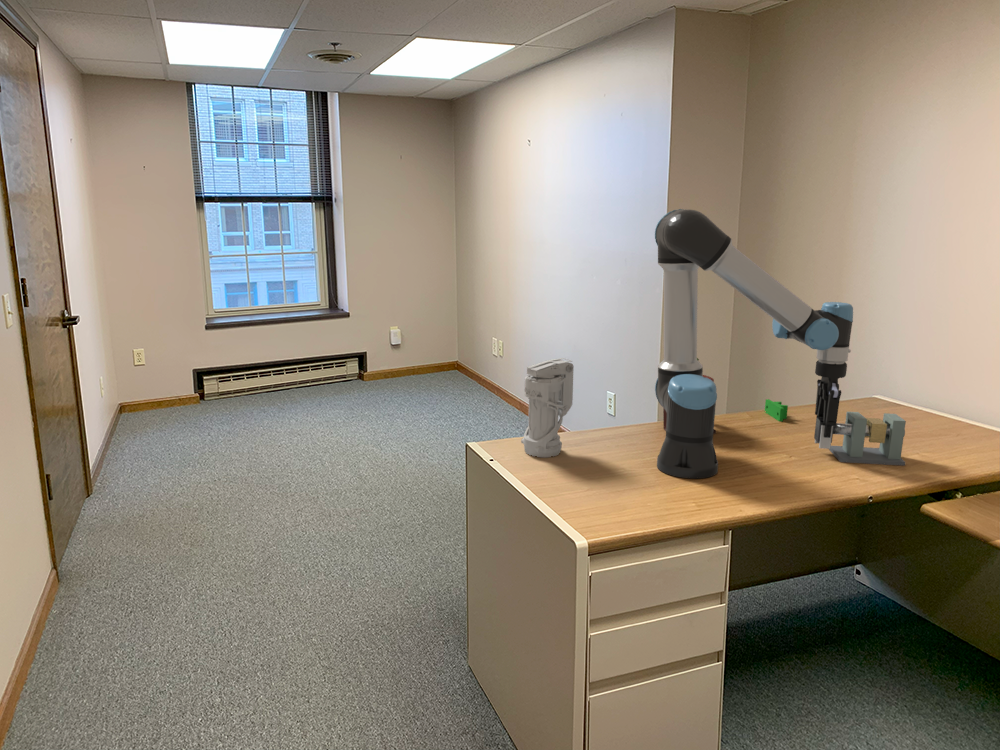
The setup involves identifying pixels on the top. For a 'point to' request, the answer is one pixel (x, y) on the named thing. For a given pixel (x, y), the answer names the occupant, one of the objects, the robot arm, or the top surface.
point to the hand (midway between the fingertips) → (822, 445)
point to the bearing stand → (859, 454)
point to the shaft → (841, 429)
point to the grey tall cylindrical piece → (547, 405)
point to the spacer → (876, 430)
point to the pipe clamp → (776, 410)
